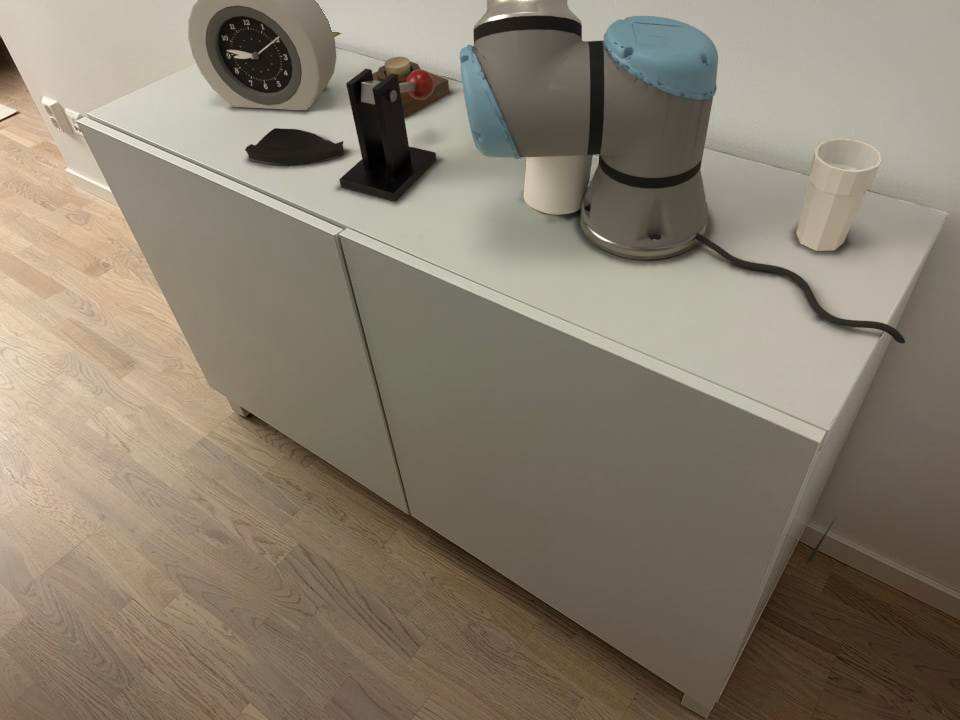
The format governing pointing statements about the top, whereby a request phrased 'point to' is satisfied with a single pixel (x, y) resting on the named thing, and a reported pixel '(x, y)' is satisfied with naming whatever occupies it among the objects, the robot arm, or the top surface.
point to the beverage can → (557, 183)
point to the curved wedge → (293, 148)
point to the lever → (404, 86)
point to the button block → (408, 101)
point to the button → (398, 66)
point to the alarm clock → (263, 51)
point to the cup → (835, 191)
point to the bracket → (383, 142)
